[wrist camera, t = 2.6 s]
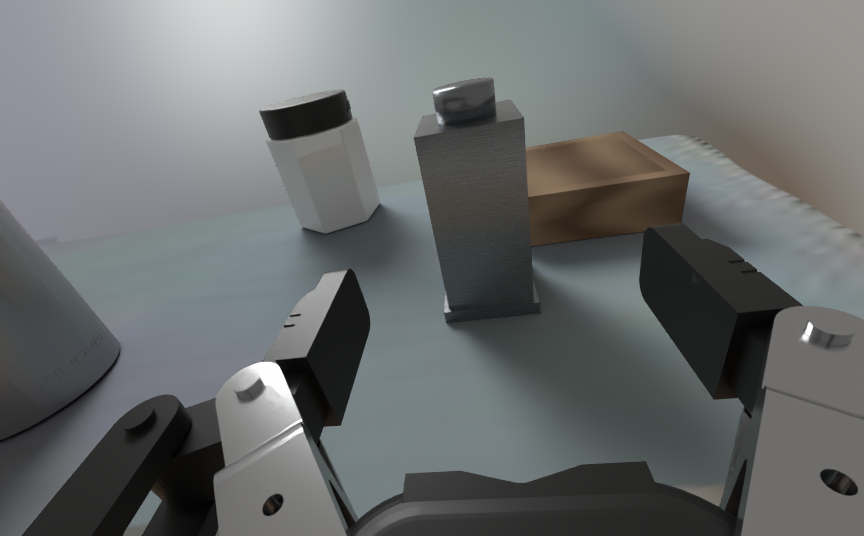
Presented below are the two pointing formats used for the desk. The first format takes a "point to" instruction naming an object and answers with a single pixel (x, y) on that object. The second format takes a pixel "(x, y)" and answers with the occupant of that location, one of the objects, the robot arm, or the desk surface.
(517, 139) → the block
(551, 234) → the stand
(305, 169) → the jar
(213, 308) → the desk surface
